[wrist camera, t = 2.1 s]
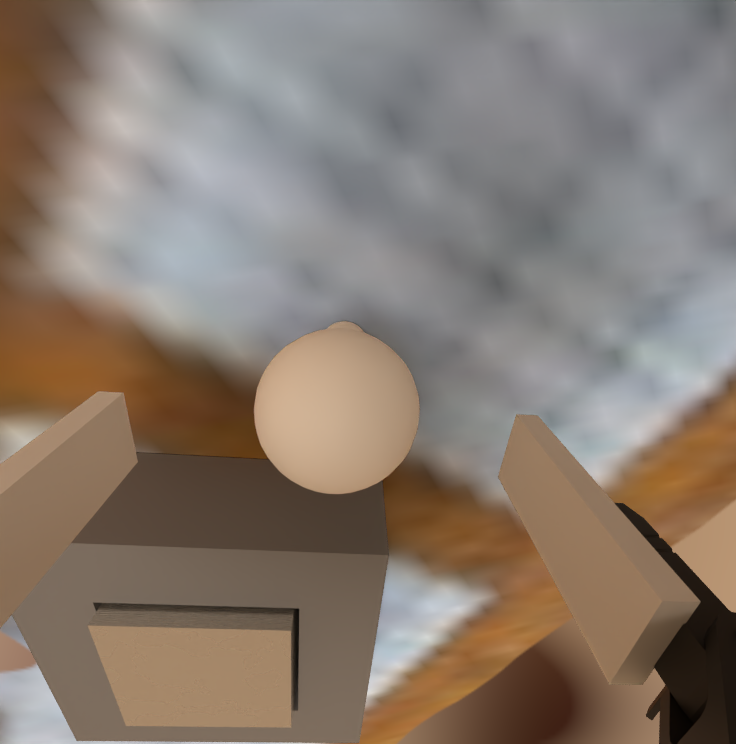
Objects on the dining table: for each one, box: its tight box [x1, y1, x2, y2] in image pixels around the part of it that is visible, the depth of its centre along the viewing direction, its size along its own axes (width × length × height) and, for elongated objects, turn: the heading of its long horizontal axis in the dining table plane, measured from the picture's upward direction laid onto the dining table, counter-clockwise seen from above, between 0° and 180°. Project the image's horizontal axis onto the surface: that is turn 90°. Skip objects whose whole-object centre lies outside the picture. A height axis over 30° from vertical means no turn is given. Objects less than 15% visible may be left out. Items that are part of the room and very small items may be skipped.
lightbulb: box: [254, 321, 420, 494], centre depth 16 cm, size 6×6×11 cm
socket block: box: [12, 453, 389, 743], centre depth 26 cm, size 20×20×7 cm
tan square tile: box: [88, 603, 299, 728], centre depth 23 cm, size 10×10×3 cm
